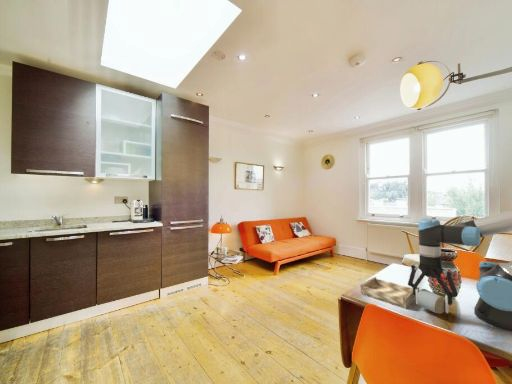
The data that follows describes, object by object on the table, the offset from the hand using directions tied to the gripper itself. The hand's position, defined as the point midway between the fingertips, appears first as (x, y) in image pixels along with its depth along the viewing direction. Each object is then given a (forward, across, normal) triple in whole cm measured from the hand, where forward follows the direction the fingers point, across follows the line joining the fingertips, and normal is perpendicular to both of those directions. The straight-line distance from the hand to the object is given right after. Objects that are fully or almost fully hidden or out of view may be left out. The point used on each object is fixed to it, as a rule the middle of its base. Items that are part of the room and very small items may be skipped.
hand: (432, 307), depth 95 cm
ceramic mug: (+1, 0, -1) cm, 2 cm away
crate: (+2, +19, -4) cm, 19 cm away
